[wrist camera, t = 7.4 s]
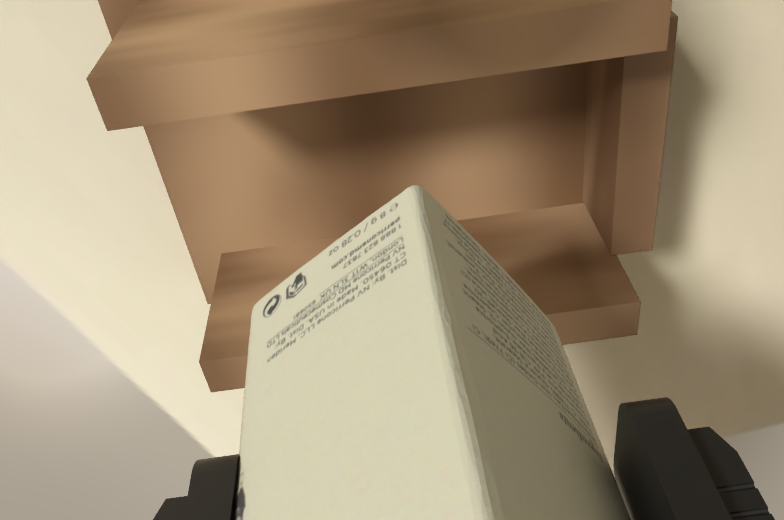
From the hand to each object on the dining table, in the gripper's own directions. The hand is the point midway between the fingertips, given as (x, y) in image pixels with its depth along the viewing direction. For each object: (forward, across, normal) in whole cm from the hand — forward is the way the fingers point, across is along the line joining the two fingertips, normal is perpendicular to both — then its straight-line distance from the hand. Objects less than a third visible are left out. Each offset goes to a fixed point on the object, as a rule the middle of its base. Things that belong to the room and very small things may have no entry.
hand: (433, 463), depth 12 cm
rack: (+13, 0, 0) cm, 13 cm away
